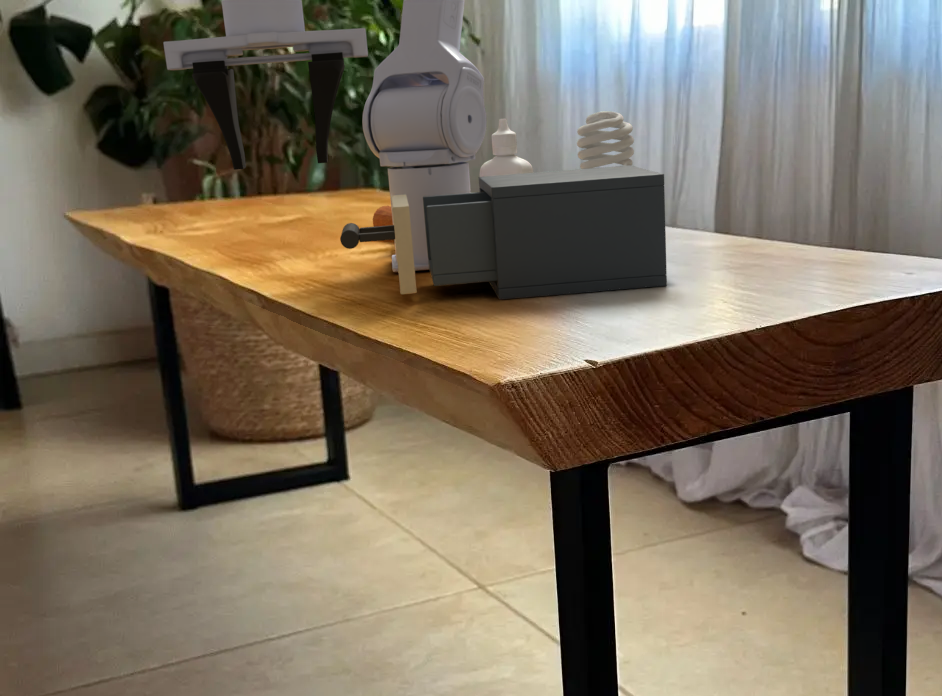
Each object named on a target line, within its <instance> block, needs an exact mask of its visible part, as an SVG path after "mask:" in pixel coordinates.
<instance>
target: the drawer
mask: <svg viewBox="0 0 942 696" xmlns="http://www.w3.org/2000/svg"><path fill="white" fill-rule="evenodd" d="M391 198H392V209H393V219H394V225H388V226H375V227H374V226H365V227H360V226H359V225H358V224H356V223H353V222H348V223H346V224H344V226H343V227H342V230H341V234H340V239H339V240H340V244H341V246H343V248H346V249H347V250H348V249H349V250H352V249H355V248H356V247H357V246H358V245H359V243H371V242H382V241H383V242H384V241H394V240H396V251H397V262H398V272H397V273H398V281H399V292H400V293H399V294H400V295H410V294H412V295H413V294H417V293H418V291H417V290H418V289H417V279H416V278H417V277H416V271H415V267H414V256H413V245H412V234H411V222H410V211H409V204H408V200H407V197H406V195H392V196H391ZM423 207H424V218H425V230H426V242H427V253H428V265H429V273H430V277H431V281H432V284H433V287H440V286H451V285H464V284H474V283H475V284H476V283H477V284H478V283H489V282H490V281H497V272H496V257H495V243H494V228H493V214H492V198H491V197H490V196H489V195H488V194H487V193H486V192H480V191H476V192H475V191H474V192H471V193H460V194H447V195H434V196H423Z"/></svg>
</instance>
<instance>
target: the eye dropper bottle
mask: <svg viewBox="0 0 942 696" xmlns="http://www.w3.org/2000/svg"><path fill="white" fill-rule="evenodd" d="M491 146H492V147H491V149H492V155H493V157H492V158H491V159H489V160H487V161H485V162H483V164H482V165H481V166H480V169H479V177H483V176H496V175H509V174H523V173H534V167H533V166H532V164H531V163H530V162H529V161H528V160H527V159H525V158H521V157H519V156H518V155H516V154H518V142H517V133H516V132H515V131H513V130H511V129H510V127H509V124H508V120H507V118H499V119H498V127H497V129H496V131H495V132H494V133H492V134H491Z"/></svg>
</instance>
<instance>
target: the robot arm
mask: <svg viewBox="0 0 942 696" xmlns="http://www.w3.org/2000/svg"><path fill="white" fill-rule="evenodd" d="M465 1H466V0H403V3H402V11H401V22H400V31H399V32H400V33H399V43H398V45H397V46H396V47H395V48H394V49H393V50H392V52H391V53H389V54H388V55H387V56H386V58H384V59H383V60H382V61H381V62H380V63H379V64H378V66H376V68H374V71H373V80H372V86H371V90H370V92H369V94H368V96H367V99H366V101H365V104H364V107H363V111H362V131H363V135H364V138H365V141H366V144H367V146H368V148H369V149H370V151H371V152H372V153H373V155H374V156H375V157H377V158H378V159H379V166H380V167H387V177H388V187H389V197H390V206H391V210H392V221H393V225H394V219H393V209H392V198H391V196H392V195H406V197H407V200H408V204H409V211H410V222H411V234H412V245H413V256H414V267H415V272H416V271H417V272H418V271H428V270H429V265H428V253H427V242H426V230H425V218H424V207H423V196H434V195H447V194H460V193H472V190H471V189H472V188H471V175H470V163H469V162H470V161H476V154H477V153H478V151H479V150H480V148H481V146H482V144H483V142H484V140H485V137H486V132H487V121H488V118H487V117H488V116H487V111H486V106H485V97H484V92H485V91H484V90H485V89H484V88H485V87H484V86H485V77H484V76H483V74H482V73H481V72H480V70H479V68H478V67H477V66H476V65H475V64H473V62H471V61H470V60H469V59H468V58H467V57H466V56H465V55H463V54H462V53H461V52H460V50H461V41H462V31H463V20H464V10H465V3H466V2H465ZM221 7H222V17H223V23H224V31H225V36H218V37H217V36H216V37H207V38H206V37H205V38H195V39H182V40H169V41H168V40H167V41H163V42H162V43H163V49H164V50H163V51H164V57H165V63H166V70H167V71H183V70H187V69H189V70H190V69H191V70H192V74H191V77H192V79H193V81H194V83H195V85H196V87H197V88H198V90H199V91H200V93H201V94H202V96H203V98H204V99H205V101H206V104H207V105H208V107H209V109H210V111H211V113H212V115H213V116H214V118H215V121H216V122H217V124H218V127H219V129H220V132H221V134H222V136H223V139H224V141H225V144H226V147H227V149H228V152H229V156H230V158H231V163H232V167H233V170H235V171H236V170H237V171H238V170H244V169H246V168H247V165H246V154H245V149H244V143H243V138H242V133H241V129H240V123H239V117H238V116H239V115H238V107H237V96H236V95H237V94H236V83H235V72H234V71H235V70H234V69H233V68H228V67H233V66H245V65H246V66H247V65H260V64H275V63H289V62H291V63H292V62H302V61H303V62H304V61H307V65H308V66H307V67H308V74H309V80H310V88H311V89H310V90H311V97H312V103H313V104H312V105H313V113H314V125H315V126H314V129H315V130H314V131H315V153H316V160H317V164H327V163H329V137H330V128H331V122H332V116H333V112H334V106H335V102H336V98H337V96H338V95H337V94H338V91H339V87H340V84H341V80H342V77H343V74H344V71H345V66H346V65H345V59H346V58H347V59H348V58H355V59H357V58H367V57H369V49H368V40H367V39H368V38H367V31H366V28H365V27H361V28H360V27H358V28H344V29H323V30H320V29H319V30H306V28H305V19H304V10H303V9H304V8H303V1H302V0H221ZM283 48H284V49H285V48H286V49H287V48H292V50H293V52H295V53H290V54H271V55H260V56H258V55H257V56H247V57H246V56H245V57H240V56H243V55H244V52H243V51H255V50H256V51H257V50H272V49H273V50H274V49H283ZM296 52H299V53H296ZM301 52H303V53H301ZM238 56H239V57H238ZM393 242H394V250H395V251H394V252H395V254H392V255H391V269H392V272H393V273H399V272H398V262H397V251H396V240H393ZM429 271H430V270H429Z"/></svg>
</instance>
